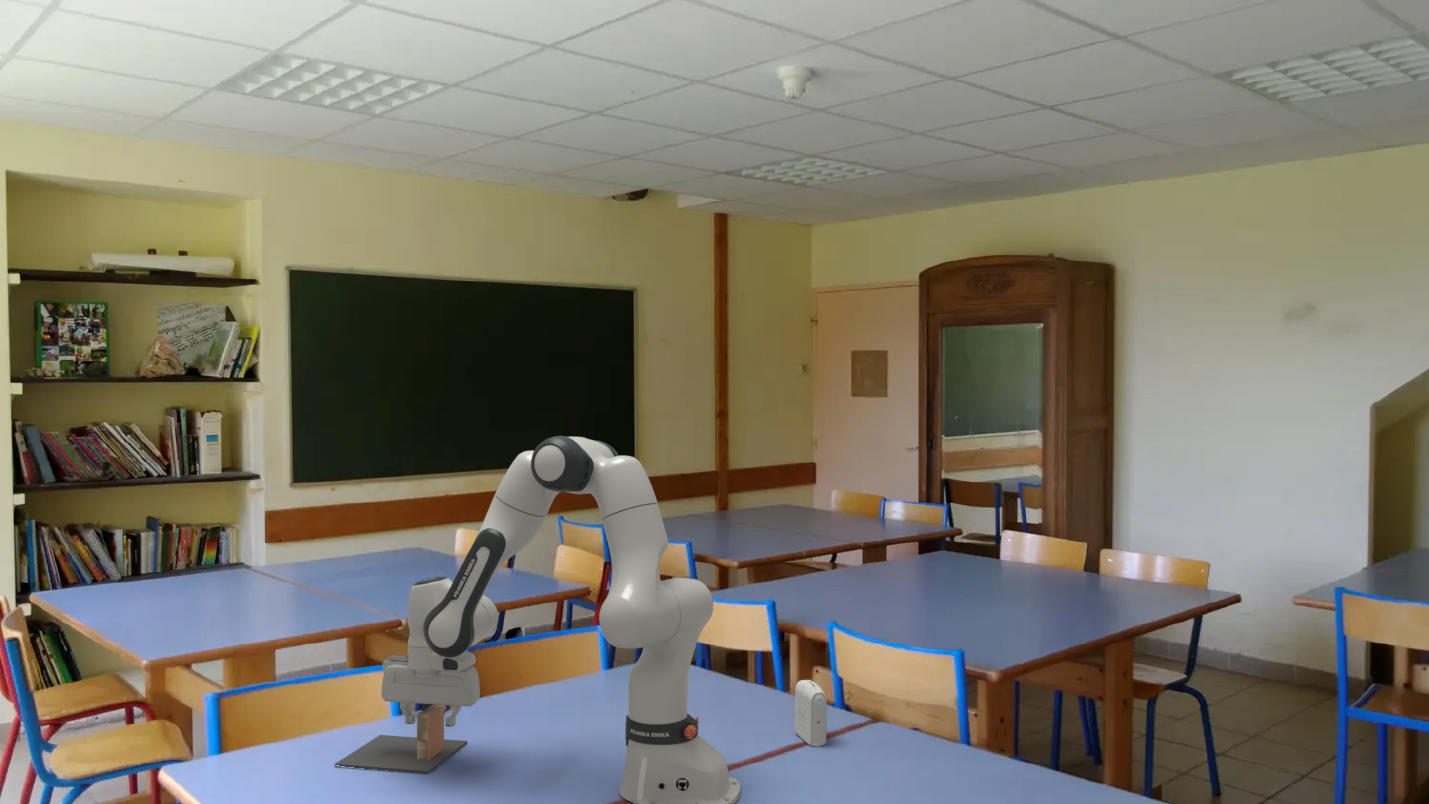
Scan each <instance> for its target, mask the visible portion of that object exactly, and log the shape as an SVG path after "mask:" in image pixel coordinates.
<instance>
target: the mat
mask: <svg viewBox="0 0 1429 804" xmlns="http://www.w3.org/2000/svg"><path fill="white" fill-rule="evenodd" d="M466 745H468V740H459V739H446V738H444V749H443V750H442V751H440V752H439V753H438V754H436V755H435V756H434V757H432V758H431V759H430V760H417V736H415V737H413V736H402V735H400V736H399V735H388V734H387V735H386V734H379V735H378V736H376V737H374V738H373V739H372V740H370V741H368V742H366V743H365V744H363V745H362V746H360V747H359V748H357V749H355V750H354V751H352V752H351V753H349V754H348V755H346V756H345V757H344V758H342V759H341V760H339V761H336V763H334V766H335V765H339V766H345V767H354V768H364V769H363V770H368V769H377V770H376V771H381V770H388V771H387V772H394V771H398V773H407V772H409V773H410V774H420V775H421V774H423V775H429V774H430V773H432V772H433V771H434V770H436V769H437V768H439V767H440V766H441V765H442V764H443V763H445V762H446V761H447V760H448V759H450V758H451V757H452V756H454V755H455V754H456V753H458V752H459V751H460V750H461V749H463V748H464V747H466ZM354 768H353V769H354Z"/></svg>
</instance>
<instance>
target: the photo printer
mask: <svg viewBox="0 0 1429 804" xmlns="http://www.w3.org/2000/svg"><path fill="white" fill-rule="evenodd" d="M794 689H795V690H794V733H795V734H796V736H798V737H800V739H801V740H803V741H804V742H805V743H806V744H808V745H809V746H812V747H814V746H819V747H822V746H821V745H823V746H825V744H827V732H828V730H827V720H828V719H827V718H828V716H827V714H828V712H827V710H828V706H827V705H828V703H827V702H828V701H827V700H828V698H827V696H826V694H825V691H824V690H823V689H822V687H821V686H820V685H819V684H817V683H816V682H814V681H812V680H810V679H801V680H799V681H798V682H796V685H795V688H794Z"/></svg>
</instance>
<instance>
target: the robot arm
mask: <svg viewBox="0 0 1429 804" xmlns="http://www.w3.org/2000/svg"><path fill="white" fill-rule="evenodd" d="M559 493H570V494H573V495H586V494H591V495H592V497H594V499H595V501H596V503H597V506H598V509H599V513H600V517H601V521H602V525H603V530H604V532H605V537H606V541H607V545H608V549H609V553H610V559H611V580H610V587H609V591H608V594H607V596H606V598H605V600H604V601H603V602H602V604H601V607H600V610H599V616H598V620H599V621H598V623H599V628H600V630H601V633H602V635H603V637H604V639H605V640H606V641H607V643H609V644H610V646H614V647H615V648H618V649H619V648H620V649H641V648H643V650H642V652H641V655H640V656H639V658H638V659H637V661H636V662H635V664H634V665H633V666H632V668H631V670H630V671H629V673H628V674H629V675H628V680H627V681H628V683H627V685H628V689H627V690H628V691H627V692H628V693H627V695H628V698H627V699H628V701H627V703H628V705H627V706H628V707H627V708H628V711H627V712H628V713H627V714H626V716H625V722H624V723H625V726H624V737H625V745H626V756H625V757H626V758H625V765H624V771H623V776H622V779H621V780H622V781H621V784H620V787H619V791H618V792H619V795H620V796H621V797H622V798H623V799H624V800H627V801H629V802H631V803H633V804H736V802H737V801H738V800H739V798H740V796H741V791H742V790H741V789H742V788H741V784H740V782H739V780H738V779H737V778H735V777H731V776H730V774H729V770H728V764H727V760H726V758H725V756H724V755H723V753H722V752H721V751H719V750H717V749H716V748H715V747H714V746H713V745H711V744H710V743H708V742H707V741H706V740H705V739H703V738H702V737H701V736H700V735H699V723H700V722H699V721H700V720H699V716H697V717H695V718H694V717H693V716H692V715H691V714H689V713H688V702H689V701H688V698H689V697H688V695H689V692H688V691H689V673H690V667H691V663H692V660H693V655H694V652H695V651H696V646H697V643H698V641H699V637H700V635H701V633H702V632H703V630H704V629H705V627H706V625H707V624H708V623H709V622H710V620H711V619H712V616H713V613H714V612H713V611H714V599H713V596H712V593H711V591H710V589H709V588H708V586H706V584H705V583H703V581H701V580H699V579H695V578H686V577H674V578H669V579H665V580H661V577H660V576H661V573H660V572H661V571H660V564H661V559H662V557H663V555H664V554H665V553H666V551H667V549H668V546H669V539H668V534H667V531H666V528H665V525H664V520H663V517H662V514H661V511H660V507H659V503H658V500H657V497H656V494H655V491H654V489H653V485H652V484H651V481H650V478H649V476H648V475H647V472H646V470H645V468H644V466H643V465H642V463H641V462H640V461H639V460H638V459H637V458H636V457H634V456H632V455H631V456H630V455H619V453H618V451H616V449H615V448H614V447H612V446H611V445H609V444H608V443H606V442H604V441H600V440H593V439H590V438H587V437H583V436H564V435H557V436H552V437H549V438H546V439H545V440H543V441H541V442H540V443H539V444H538V445H536V447H535V449H534V450H524V451H523V452H521V453H519V454H518V455H517V456H516V457H515V459H514V460H513V461H512V462H511V464H510V466H509V468H508V469H507V471H506V472H505V474H504V475H503V477H502V480H501V481H500V483H499V485H498V487H497V490H496V492H495V494H494V496H493V498H492V501H491V503H490V506H489V508H488V510H487V511H486V515H485V517H484V519H483V521H482V524H481V527H480V529H479V530H478V532H477V535H476V536H475V539H474V541H473V543H472V545H471V547H470V549H469V550H468V552H467V554H466V556H465V558H464V559H463V562H462V564H461V566H460V568H459V570H458V572H457V573H456V575H455V576H454V579H453V580H451V579H450V578H449V577H447V576H435V577H428V578H425V579H421V580H420V581H417V582H415V583H414V584H413V585H412V586H411V588H410V591H409V594H408V595H409V596H408V601H407V603H408V604H407V626H408V629H409V637H408V640H407V655H397V654H391V655H390V656H388V657H386V658H385V659H384V660H383V663H382V673H383V677H382V682H381V693H380V695H381V697H382V699H383V700H384V702H386V703H387V702H391V703H399V708H400V710H401V712H402V713H403V715H404V718H405V720H404V724H406V725H413V724H415V723H417V714H416V713H413V712H412V710H411V708H410V706H412V704H421V705H422V704H436V705H450V708H449V709H450V711H451V714H450V715H448V716H447V717H444V727H448V728H453V727H455V726H456V724H457V723H456V721H457V720H456V718H457V716H458V714H459V712H460V710H461V709H462V707H472V706H474V705H475V704H476V703H477V702H478V701H479V699H480V697H481V690H480V678H479V672H478V670H477V668H476V667H475V666H474V664H475V663H476V659H477V657H476V654H475V653H473V652H471V651H467V650H469V648H471V647H473V646H475V645H476V644H478V643H479V642H482V640H485V639H486V638H488V637H489V636H490V635H491V634H493V632H495V630H496V628H497V626H498V624H499V611H498V608H497V606H496V604H495V603H494V601H493V600H492V599H491V598H490V597H488V596H487V595H485V593H486V591H487V589H488V587H489V585H490V583H491V581H492V579H493V578H494V575H496V573H497V571H498V570H499V569H500V568H501V567H502V566H503V565H504V564H505V563H506V562H507V561H508V560H509V559H510V558H512V557H513V556H515V555H516V554H517V553H519V552H520V551H522V550H523V549H525V548H526V547H527V546H528V545H530V543H532V542H533V540H534V539H535V537H536V536H537V534H538V533H539V531H540V529H541V528H542V526H543V524H544V521H545V520H546V518H547V516H548V513H549V511H550V508H551V505H552V504H553V501H554V499H555V498H556V496H558V495H559Z"/></svg>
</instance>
